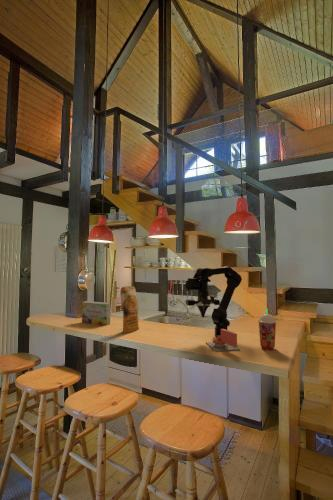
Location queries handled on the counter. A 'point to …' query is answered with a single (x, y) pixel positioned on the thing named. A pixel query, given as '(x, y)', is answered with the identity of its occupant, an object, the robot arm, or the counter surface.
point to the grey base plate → (222, 347)
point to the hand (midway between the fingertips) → (202, 317)
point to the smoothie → (267, 331)
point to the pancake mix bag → (129, 309)
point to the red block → (226, 338)
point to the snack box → (96, 313)
